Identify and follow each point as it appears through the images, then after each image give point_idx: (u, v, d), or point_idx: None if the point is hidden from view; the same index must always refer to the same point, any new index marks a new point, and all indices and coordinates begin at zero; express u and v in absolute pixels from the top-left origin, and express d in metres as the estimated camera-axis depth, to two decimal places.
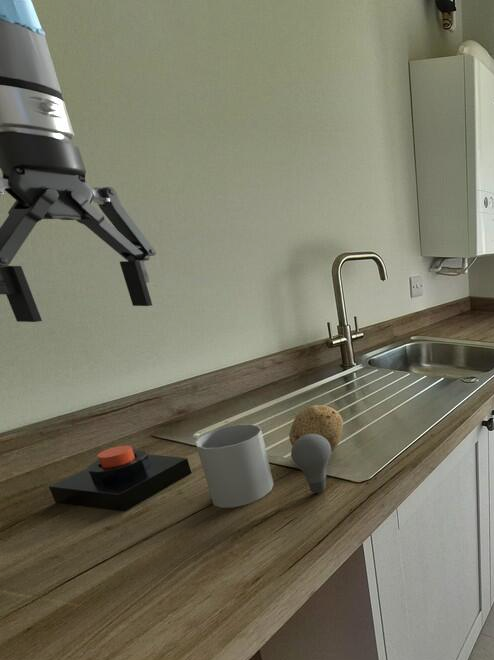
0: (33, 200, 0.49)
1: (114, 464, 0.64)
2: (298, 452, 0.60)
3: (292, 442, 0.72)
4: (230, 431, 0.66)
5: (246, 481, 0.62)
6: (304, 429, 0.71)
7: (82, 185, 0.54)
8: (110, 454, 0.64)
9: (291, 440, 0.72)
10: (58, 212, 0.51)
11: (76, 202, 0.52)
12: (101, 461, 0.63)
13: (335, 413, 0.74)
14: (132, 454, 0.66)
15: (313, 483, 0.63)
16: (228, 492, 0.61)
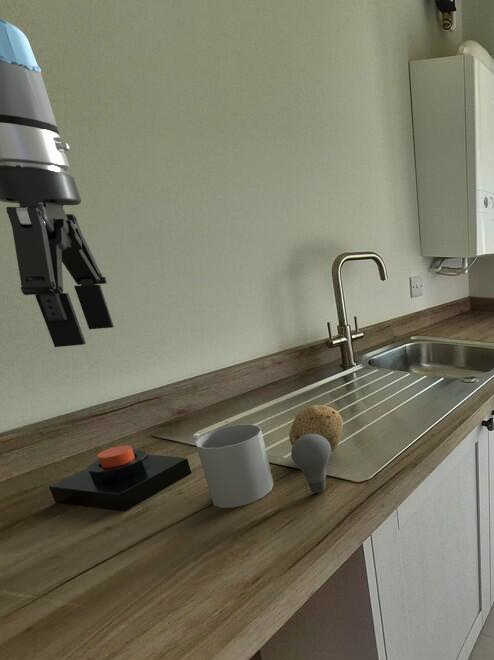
0: (54, 231, 0.52)
1: (114, 464, 0.64)
2: (298, 452, 0.60)
3: (292, 442, 0.72)
4: (230, 431, 0.66)
5: (246, 481, 0.62)
6: (304, 429, 0.71)
7: (64, 214, 0.56)
8: (110, 454, 0.64)
9: (291, 440, 0.72)
10: None
11: (73, 230, 0.55)
12: (101, 461, 0.63)
13: (335, 413, 0.74)
14: (132, 454, 0.66)
15: (313, 483, 0.63)
16: (228, 492, 0.61)
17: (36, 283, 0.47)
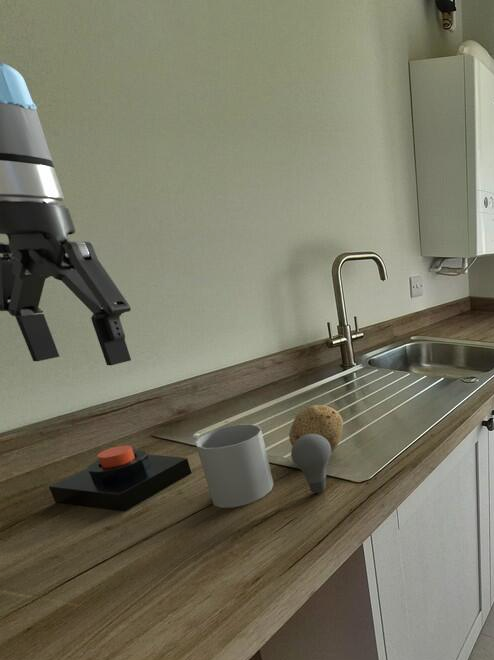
0: None
1: (114, 464, 0.64)
2: (298, 452, 0.60)
3: (292, 442, 0.72)
4: (230, 431, 0.66)
5: (246, 481, 0.62)
6: (304, 429, 0.71)
7: None
8: (110, 454, 0.64)
9: (291, 440, 0.72)
10: None
11: None
12: (101, 461, 0.63)
13: (335, 413, 0.74)
14: (132, 454, 0.66)
15: (313, 483, 0.63)
16: (228, 492, 0.61)
17: (118, 307, 0.56)
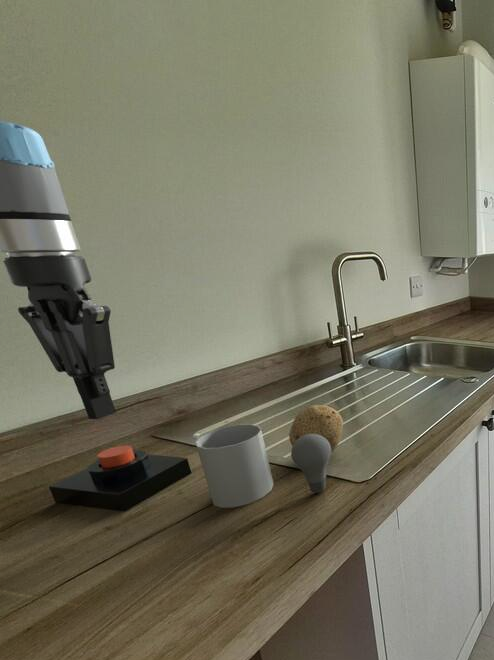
0: None
1: (114, 464, 0.64)
2: (298, 452, 0.60)
3: (292, 442, 0.72)
4: (230, 431, 0.66)
5: (246, 481, 0.62)
6: (304, 429, 0.71)
7: None
8: (110, 454, 0.64)
9: (291, 440, 0.72)
10: None
11: None
12: (101, 461, 0.63)
13: (335, 413, 0.74)
14: (132, 454, 0.66)
15: (313, 483, 0.63)
16: (228, 492, 0.61)
17: (104, 368, 0.60)
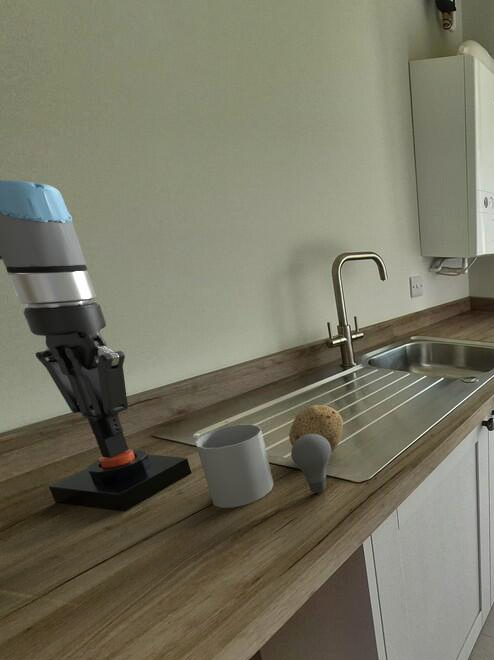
0: None
1: None
2: (298, 452, 0.60)
3: (292, 442, 0.72)
4: (230, 431, 0.66)
5: (246, 481, 0.62)
6: (304, 429, 0.71)
7: None
8: (111, 457, 0.64)
9: (291, 440, 0.72)
10: None
11: None
12: (103, 465, 0.63)
13: (335, 413, 0.74)
14: (133, 457, 0.66)
15: (313, 483, 0.63)
16: (228, 492, 0.61)
17: (118, 409, 0.62)
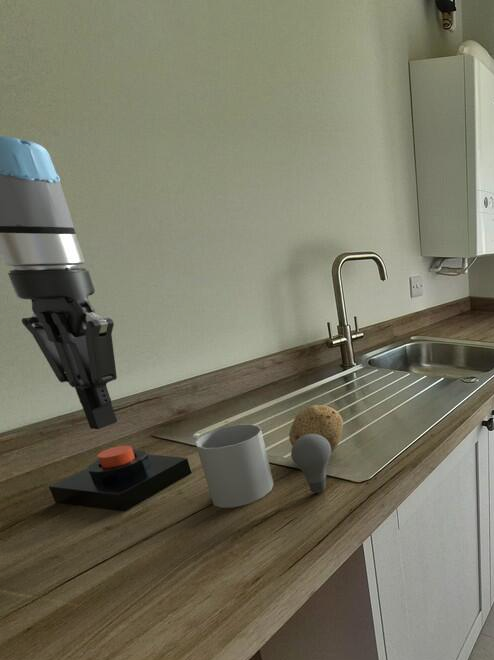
0: None
1: (114, 464, 0.64)
2: (298, 452, 0.60)
3: (292, 442, 0.72)
4: (230, 431, 0.66)
5: (246, 481, 0.62)
6: (304, 429, 0.71)
7: None
8: (110, 454, 0.64)
9: (291, 440, 0.72)
10: None
11: None
12: (101, 461, 0.63)
13: (335, 413, 0.74)
14: (132, 454, 0.66)
15: (313, 483, 0.63)
16: (228, 492, 0.61)
17: (106, 379, 0.60)
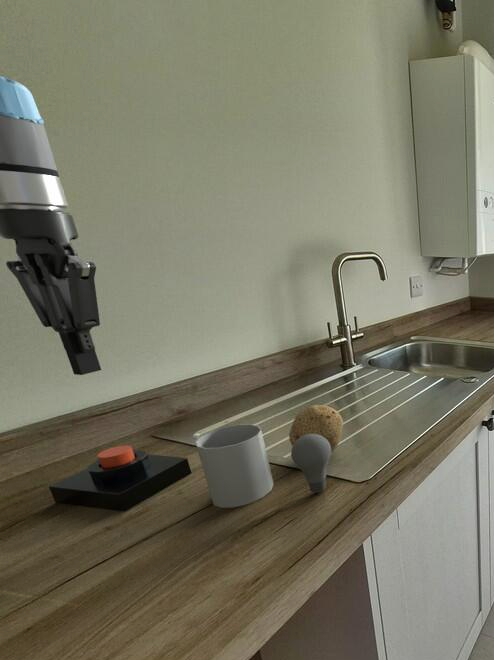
0: None
1: (114, 464, 0.64)
2: (298, 452, 0.60)
3: (292, 442, 0.72)
4: (230, 431, 0.66)
5: (246, 481, 0.62)
6: (304, 429, 0.71)
7: None
8: (110, 454, 0.64)
9: (291, 440, 0.72)
10: None
11: None
12: (101, 461, 0.63)
13: (335, 413, 0.74)
14: (132, 454, 0.66)
15: (313, 483, 0.63)
16: (228, 492, 0.61)
17: (89, 324, 0.61)
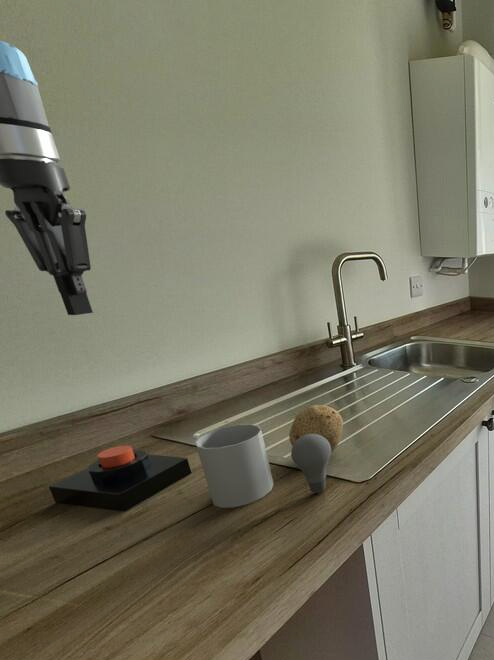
0: None
1: (114, 464, 0.64)
2: (298, 452, 0.60)
3: (292, 442, 0.72)
4: (230, 431, 0.66)
5: (246, 481, 0.62)
6: (304, 429, 0.71)
7: None
8: (110, 454, 0.64)
9: (291, 440, 0.72)
10: None
11: None
12: (101, 461, 0.63)
13: (335, 413, 0.74)
14: (132, 454, 0.66)
15: (313, 483, 0.63)
16: (228, 492, 0.61)
17: (81, 267, 0.68)
